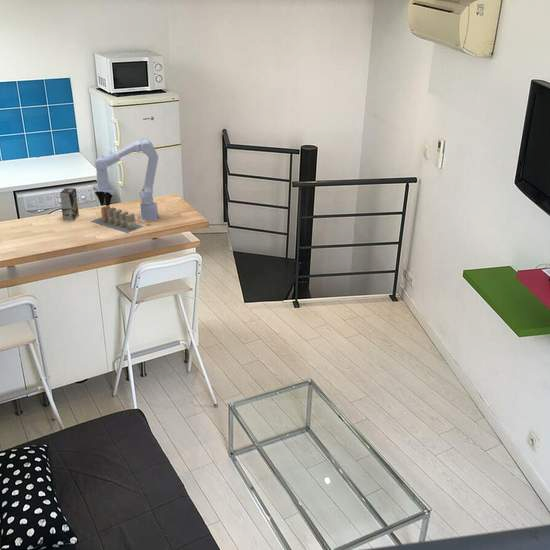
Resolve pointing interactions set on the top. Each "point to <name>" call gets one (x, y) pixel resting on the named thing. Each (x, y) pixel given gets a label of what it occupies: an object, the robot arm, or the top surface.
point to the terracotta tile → (104, 213)
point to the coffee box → (69, 204)
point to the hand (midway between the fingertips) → (105, 204)
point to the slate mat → (99, 221)
